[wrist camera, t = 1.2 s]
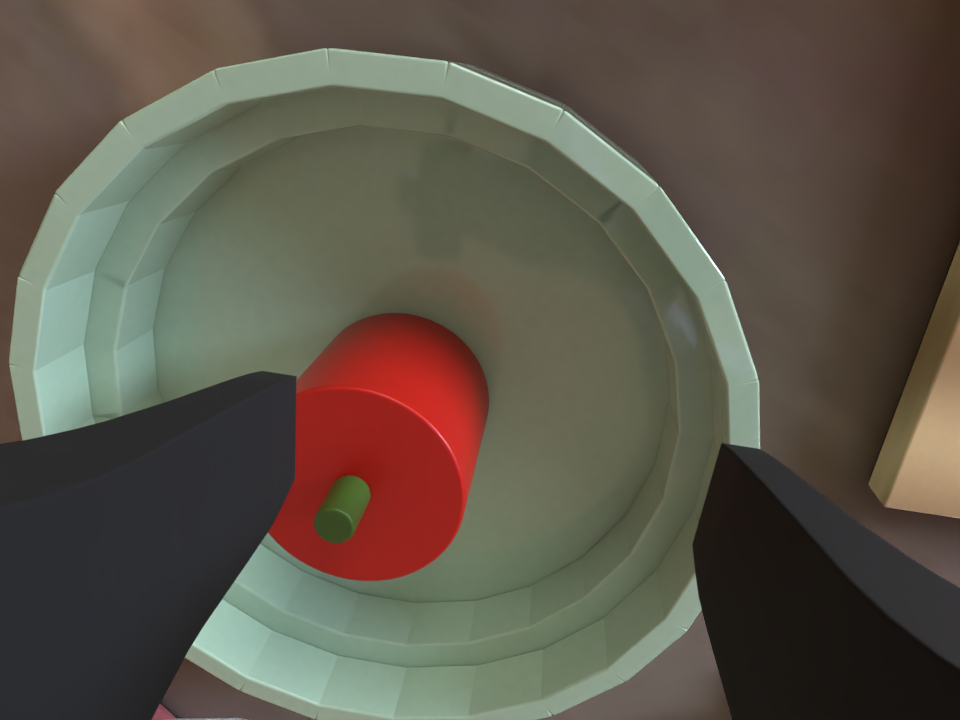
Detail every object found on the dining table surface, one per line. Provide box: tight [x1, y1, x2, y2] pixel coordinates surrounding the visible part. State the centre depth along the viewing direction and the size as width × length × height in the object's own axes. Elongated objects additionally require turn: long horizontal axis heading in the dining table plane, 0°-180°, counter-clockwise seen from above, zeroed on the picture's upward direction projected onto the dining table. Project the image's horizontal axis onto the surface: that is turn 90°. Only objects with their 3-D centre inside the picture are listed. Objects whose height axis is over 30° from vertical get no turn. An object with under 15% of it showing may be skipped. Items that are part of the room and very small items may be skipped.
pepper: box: [268, 313, 489, 581], centre depth 18 cm, size 5×5×7 cm
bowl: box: [9, 48, 760, 720], centre depth 19 cm, size 18×18×4 cm
